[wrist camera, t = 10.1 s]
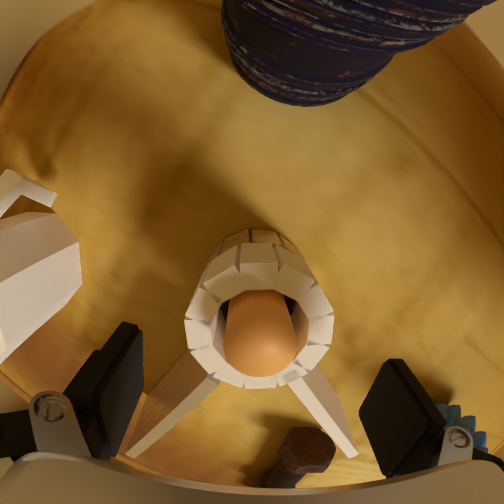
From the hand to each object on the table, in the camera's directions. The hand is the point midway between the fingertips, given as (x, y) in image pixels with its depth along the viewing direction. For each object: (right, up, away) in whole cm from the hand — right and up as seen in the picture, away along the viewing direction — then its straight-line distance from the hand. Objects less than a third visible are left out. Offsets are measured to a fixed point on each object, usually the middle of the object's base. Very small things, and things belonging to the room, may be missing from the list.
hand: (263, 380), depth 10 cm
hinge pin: (0, +3, +10) cm, 11 cm away
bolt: (+3, -20, +17) cm, 26 cm away
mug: (-17, +6, +9) cm, 20 cm away
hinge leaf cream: (+3, -1, +11) cm, 12 cm away
